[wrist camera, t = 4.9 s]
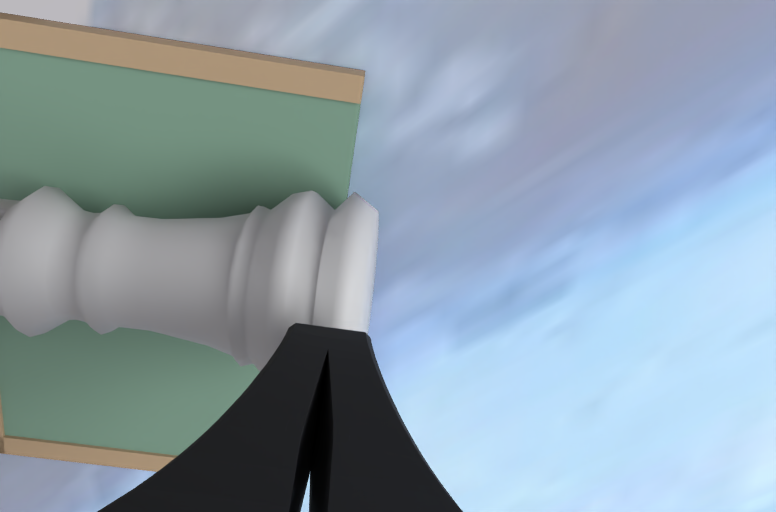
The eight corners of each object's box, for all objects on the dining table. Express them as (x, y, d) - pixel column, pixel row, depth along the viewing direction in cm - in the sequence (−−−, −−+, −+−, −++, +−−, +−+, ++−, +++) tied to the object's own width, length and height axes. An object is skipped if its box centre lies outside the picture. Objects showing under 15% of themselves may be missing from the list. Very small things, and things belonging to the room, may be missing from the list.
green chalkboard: (306, 476, 21) (305, 489, 21) (-9, 438, 21) (-17, 451, 20) (365, 70, 16) (364, 76, 16) (-62, 2, 15) (-75, 6, 15)
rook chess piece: (373, 312, 19) (66, 276, 19) (385, 156, 16) (30, 117, 16) (349, 451, 15) (-31, 404, 15) (359, 277, 12) (-97, 225, 13)
